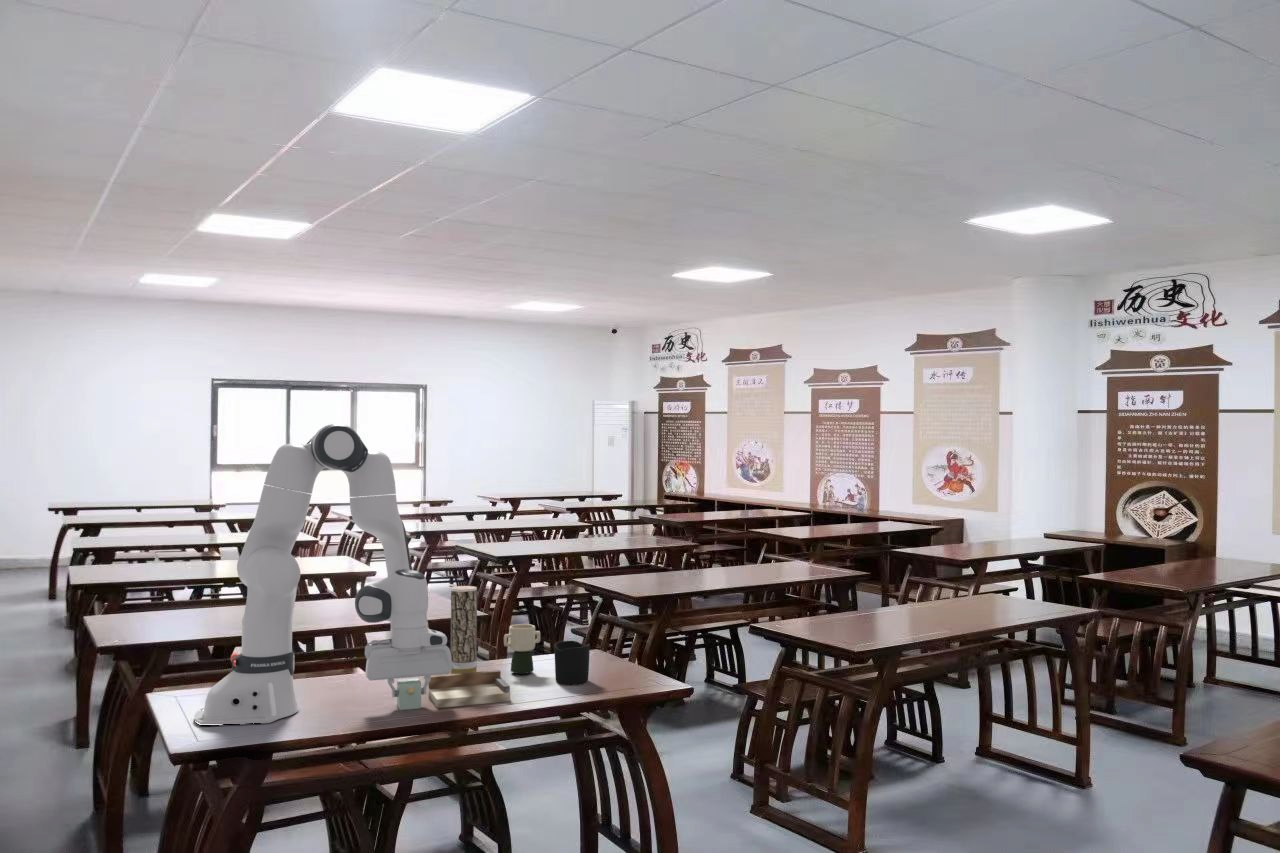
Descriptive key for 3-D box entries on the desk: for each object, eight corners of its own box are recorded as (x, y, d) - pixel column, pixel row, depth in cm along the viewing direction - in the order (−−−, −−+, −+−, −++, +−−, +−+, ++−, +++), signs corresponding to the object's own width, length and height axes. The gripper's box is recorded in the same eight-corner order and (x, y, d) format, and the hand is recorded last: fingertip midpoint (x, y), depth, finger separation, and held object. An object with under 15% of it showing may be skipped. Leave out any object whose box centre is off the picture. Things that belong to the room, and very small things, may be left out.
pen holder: (588, 677, 263) (588, 640, 263) (591, 685, 253) (591, 647, 254) (553, 678, 262) (553, 641, 262) (555, 686, 252) (555, 648, 252)
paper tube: (464, 686, 252) (465, 590, 253) (445, 683, 256) (445, 588, 256) (481, 681, 258) (482, 587, 258) (462, 677, 262) (463, 585, 262)
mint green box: (400, 711, 228) (400, 686, 228) (396, 704, 234) (397, 680, 234) (422, 709, 230) (422, 684, 230) (417, 702, 236) (418, 678, 236)
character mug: (534, 668, 273) (534, 622, 273) (545, 673, 267) (545, 626, 267) (498, 673, 267) (498, 625, 267) (508, 678, 261) (509, 630, 261)
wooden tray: (436, 708, 231) (436, 687, 232) (428, 695, 243) (428, 675, 243) (510, 700, 238) (510, 680, 238) (499, 689, 249) (499, 669, 249)
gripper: (366, 643, 227) (365, 702, 226) (453, 637, 234) (453, 694, 234) (363, 638, 232) (363, 696, 232) (448, 632, 240) (448, 688, 240)
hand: (409, 695), depth 233 cm, fingers closed on mint green box, 5 cm apart
